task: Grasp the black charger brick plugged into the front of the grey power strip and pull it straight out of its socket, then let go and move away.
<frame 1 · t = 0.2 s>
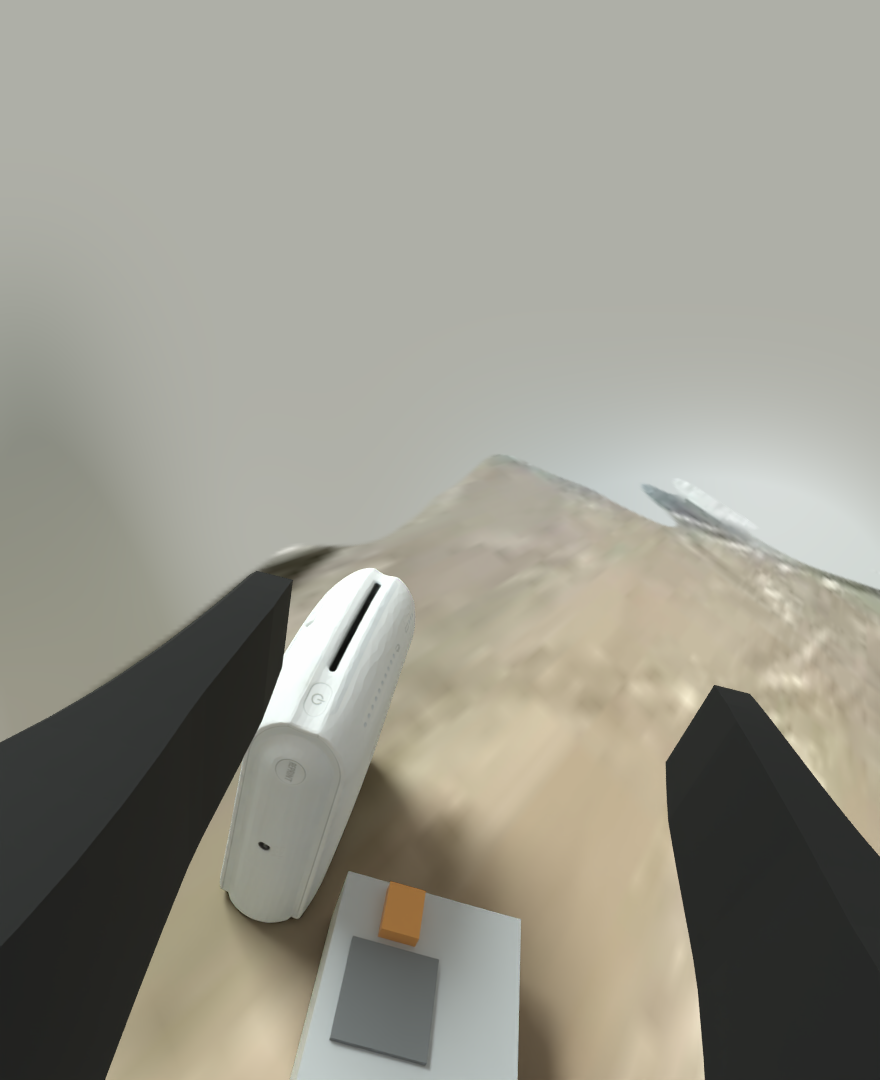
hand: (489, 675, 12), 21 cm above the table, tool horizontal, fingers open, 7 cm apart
photo printer: (300, 820, 32), on the table
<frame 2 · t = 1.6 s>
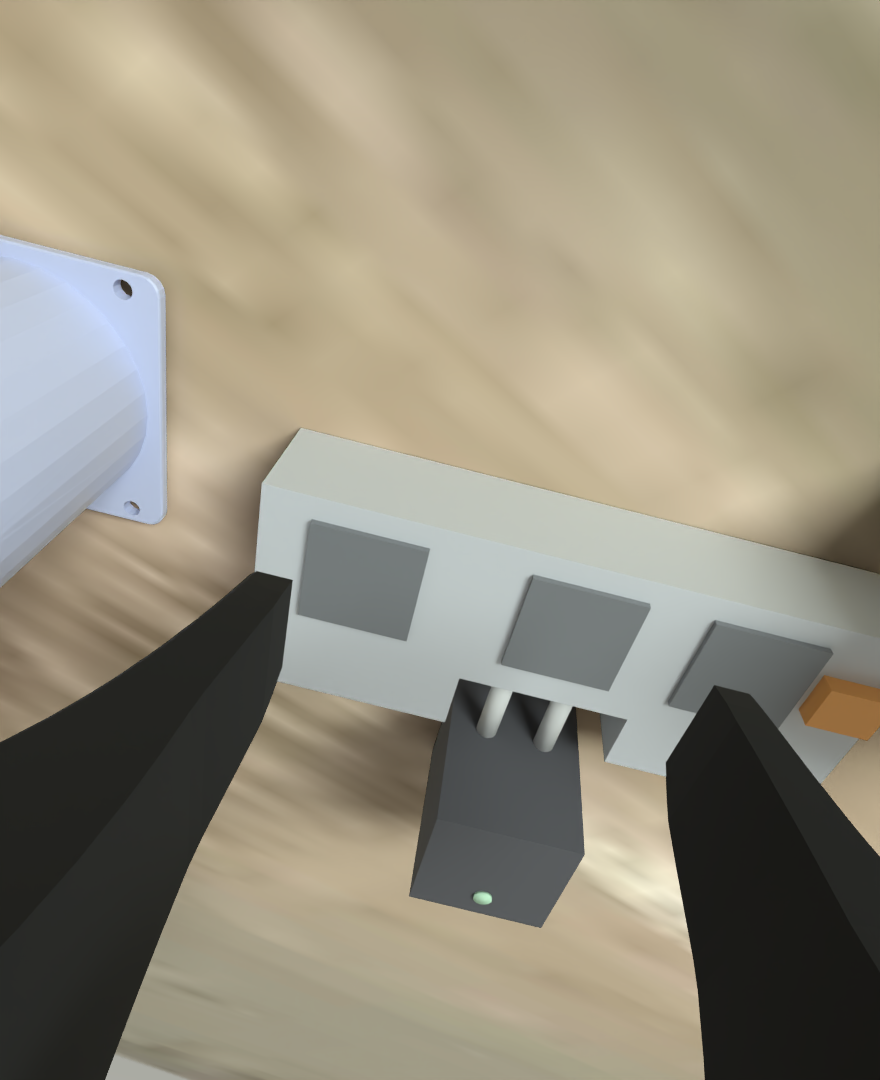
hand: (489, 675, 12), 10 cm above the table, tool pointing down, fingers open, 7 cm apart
charger: (507, 771, 23), point 3 cm above the table, slide at 0.0 cm
power strip: (556, 590, 23), on the table
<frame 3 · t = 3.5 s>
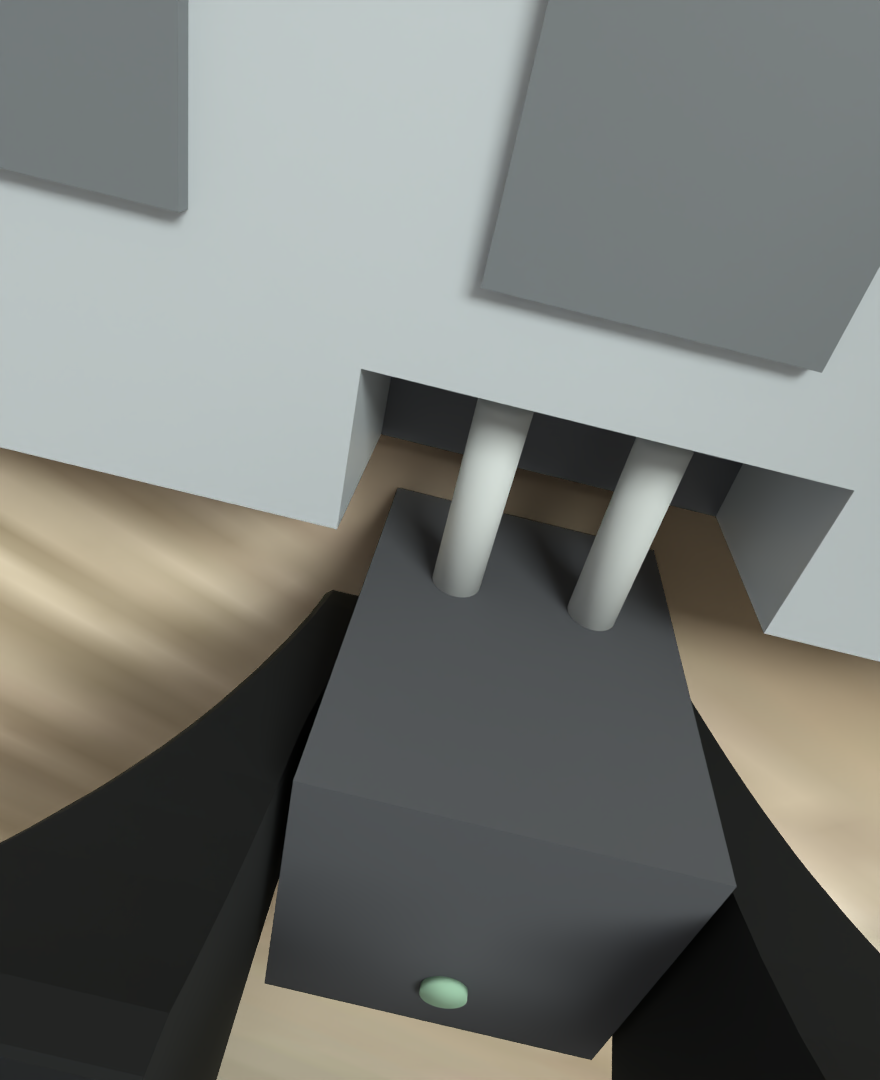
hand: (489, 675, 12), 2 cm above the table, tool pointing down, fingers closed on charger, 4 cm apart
charger: (506, 678, 10), point 3 cm above the table, slide at 0.0 cm, touching gripper
power strip: (625, 219, 9), on the table
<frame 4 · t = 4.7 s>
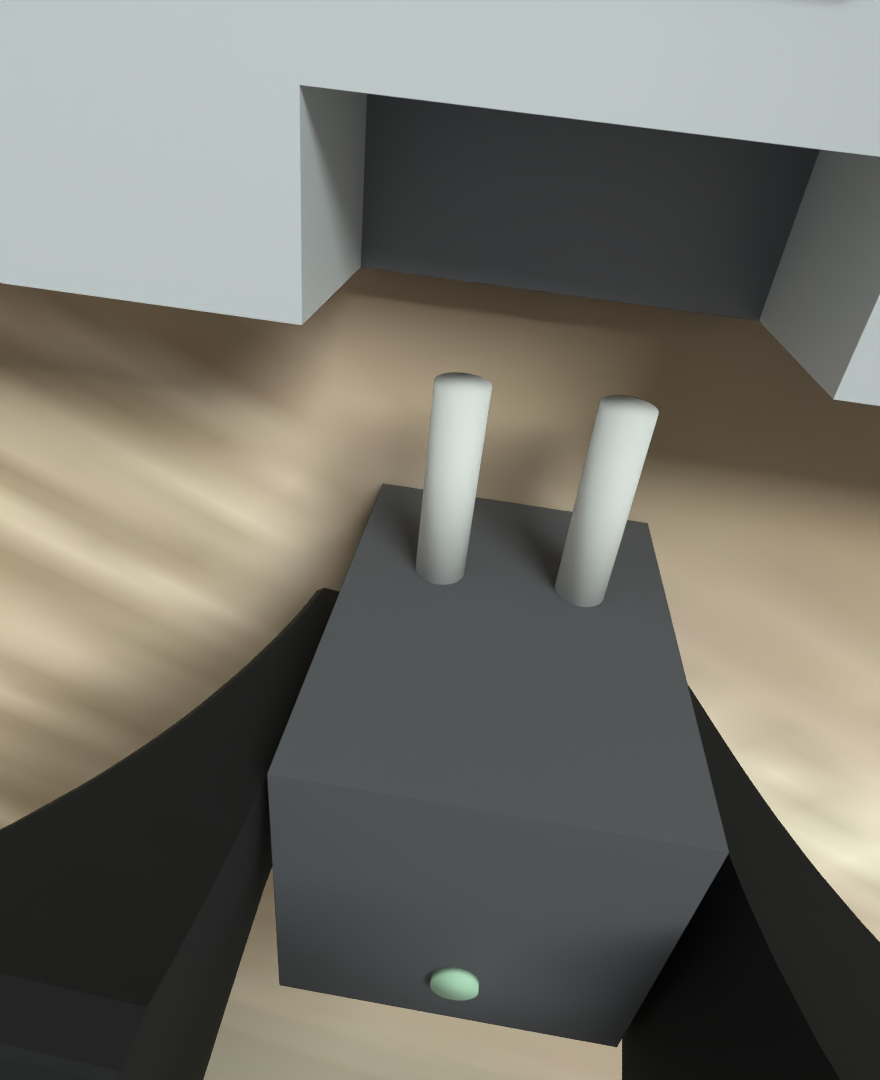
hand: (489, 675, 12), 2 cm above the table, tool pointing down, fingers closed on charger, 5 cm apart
charger: (497, 662, 10), point 3 cm above the table, slide at 2.4 cm, touching gripper
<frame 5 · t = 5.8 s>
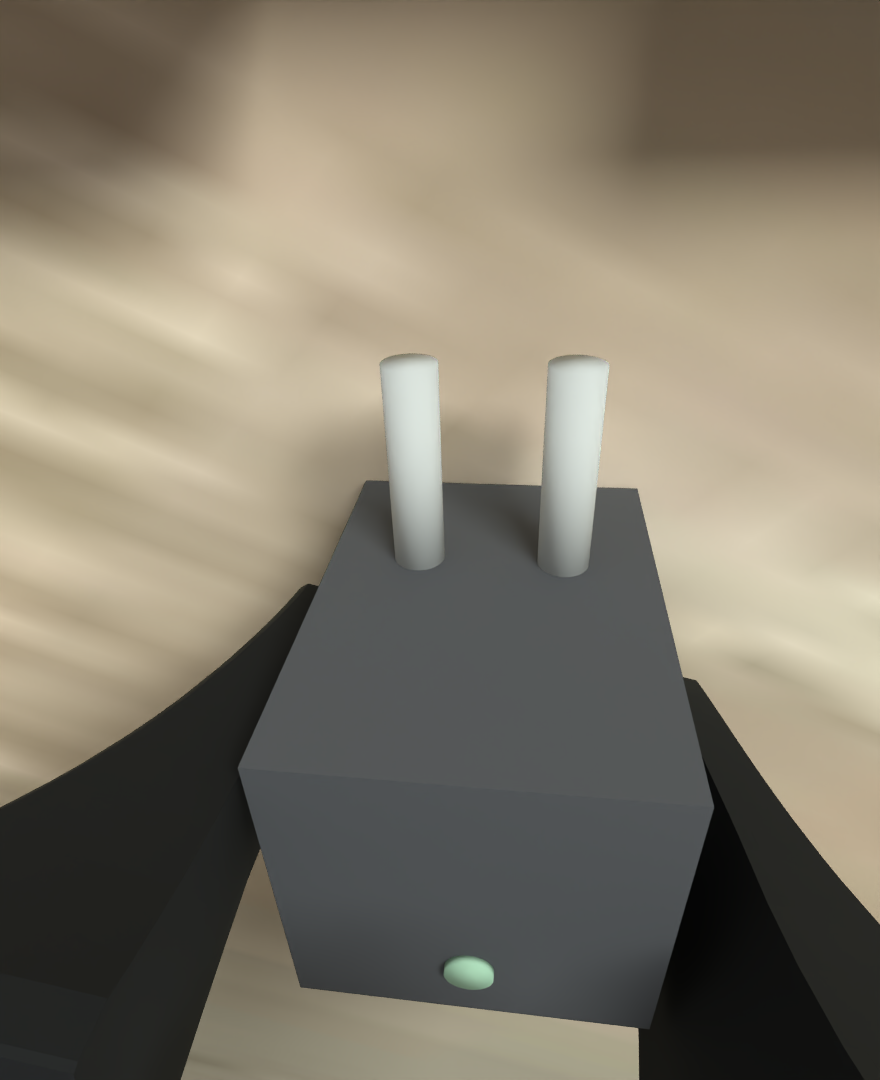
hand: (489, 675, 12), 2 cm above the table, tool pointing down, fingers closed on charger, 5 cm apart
charger: (486, 642, 9), point 3 cm above the table, slide at 5.9 cm, touching gripper
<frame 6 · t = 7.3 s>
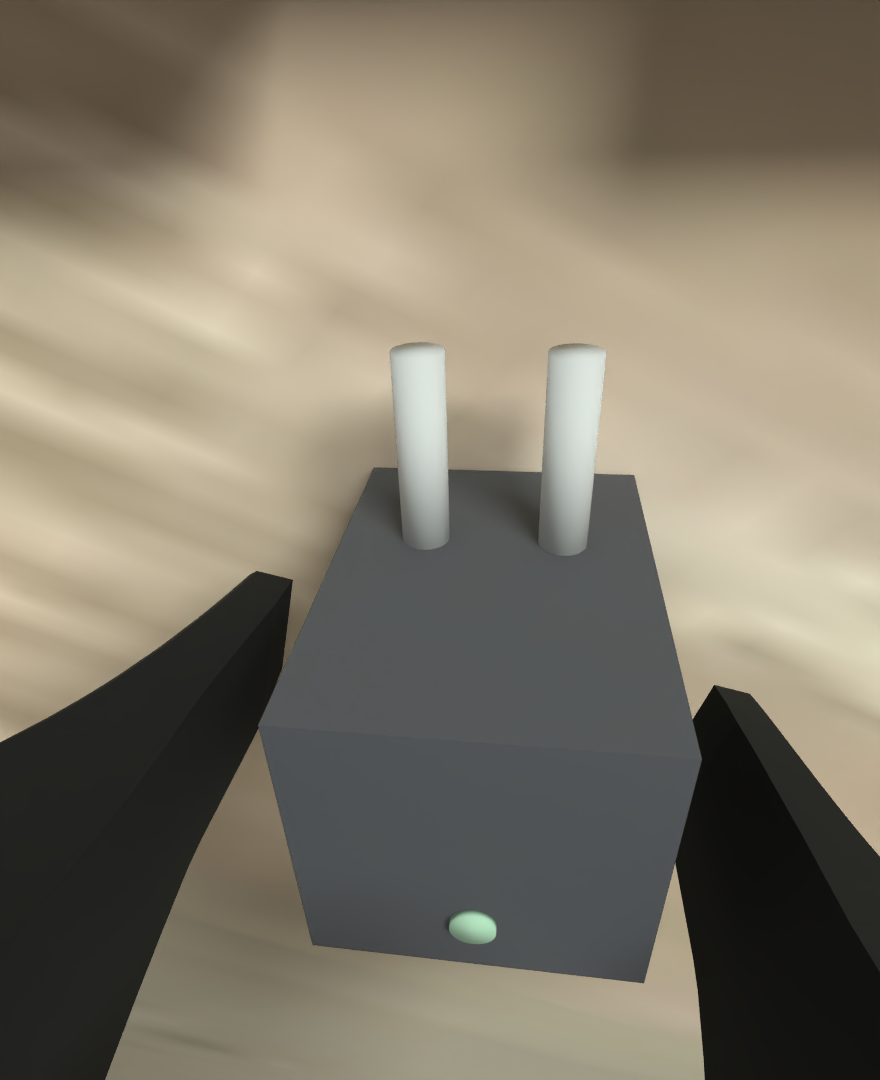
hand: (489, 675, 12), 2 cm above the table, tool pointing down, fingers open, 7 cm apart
charger: (489, 618, 10), point 3 cm above the table, slide at 5.9 cm
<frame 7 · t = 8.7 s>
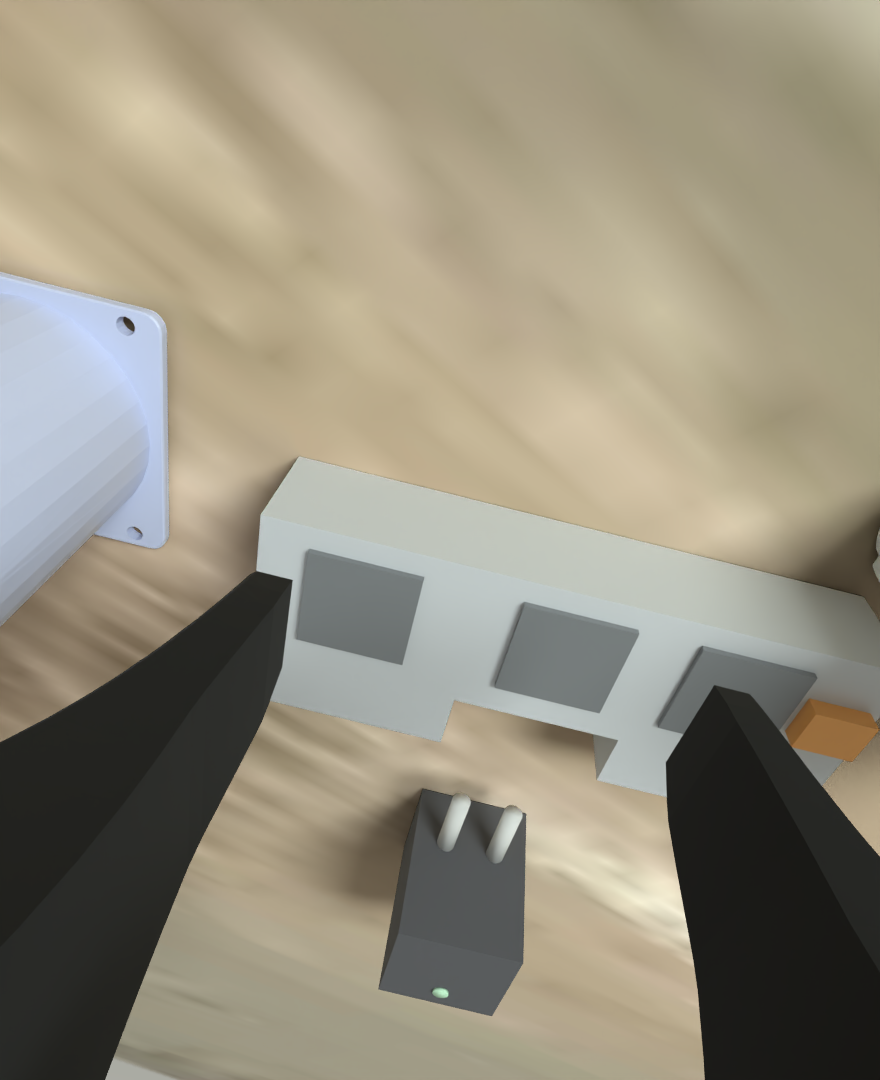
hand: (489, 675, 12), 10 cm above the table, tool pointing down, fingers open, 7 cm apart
charger: (463, 880, 27), point 3 cm above the table, slide at 5.9 cm
power strip: (549, 611, 23), on the table
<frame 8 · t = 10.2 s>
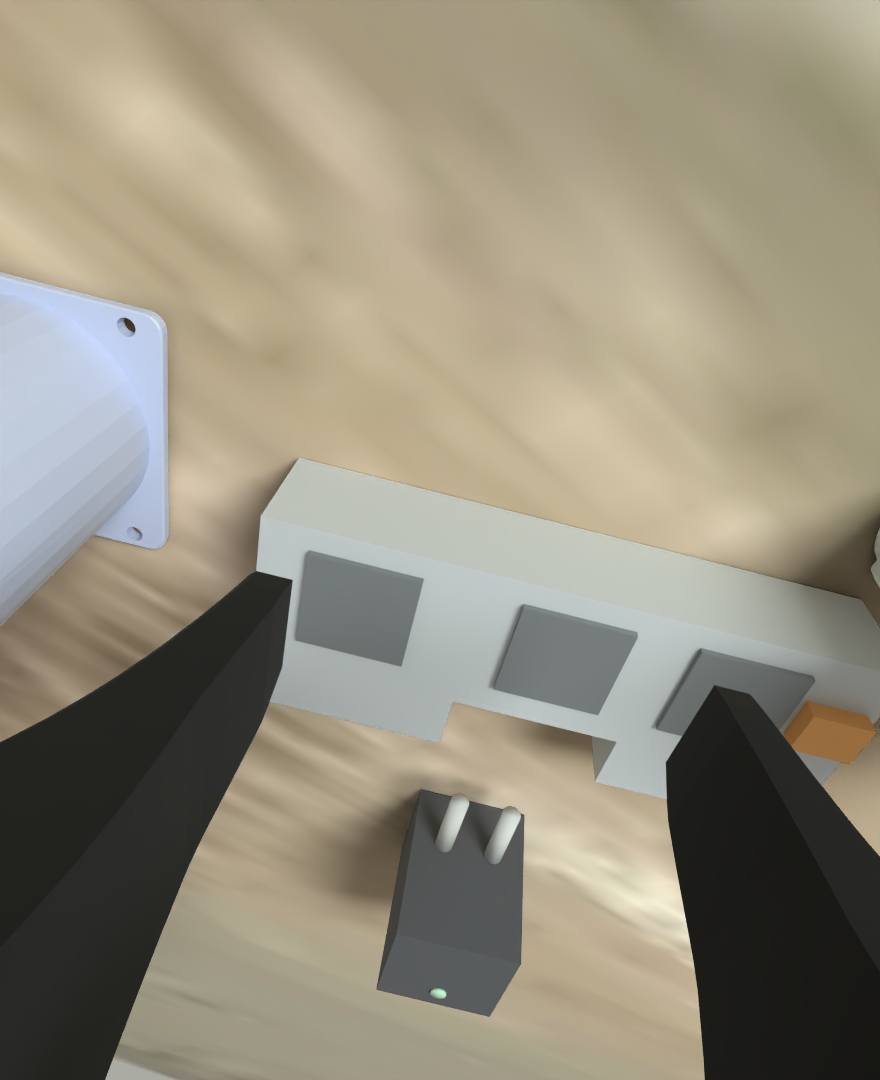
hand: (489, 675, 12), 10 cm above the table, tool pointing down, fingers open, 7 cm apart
charger: (461, 880, 27), point 3 cm above the table, slide at 5.9 cm
power strip: (548, 613, 23), on the table
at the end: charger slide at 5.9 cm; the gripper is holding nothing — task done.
